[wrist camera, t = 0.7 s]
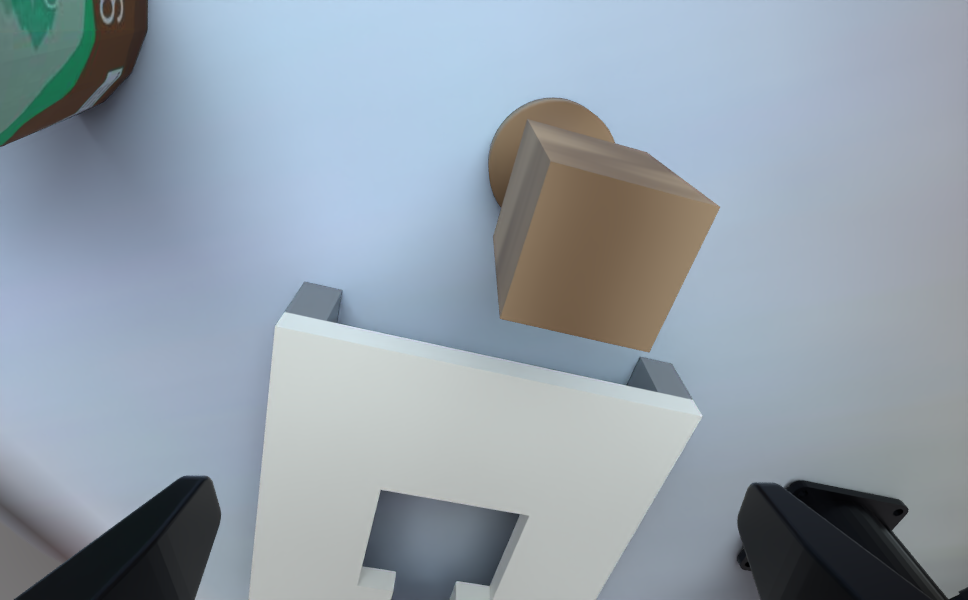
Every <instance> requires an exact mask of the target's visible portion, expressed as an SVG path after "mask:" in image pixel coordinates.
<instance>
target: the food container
mask: <svg viewBox="0 0 968 600" xmlns="http://www.w3.org/2000/svg"><path fill="white" fill-rule="evenodd" d="M147 30H148V0H0V147H1V146H4V145H6V144H8V143H11V142H13V141H16V140H18V139H20V138H23V137H25V136H27V135H30V134H32V133H34V132H37V131H39V130H42V129H44V128H46V127H49V126H51V125H53V124H56V123H58V122H61V121H63V120H65V119H68V118H70V117H72V116H75V115H77V114H79V113H81V112H83V111H85V110H88V109H90V108H92V107H94V106H96V105H98V104H100V103H102V102H104V101H105V100H106V99H107V98H108V97H109V96H110V95H111V94H112V93H113V92H114V91H115V90H116V89H117V87H118V86H119V85H120V84H121V83H122V82H123V81H124V80H125V79H126V78H127V77H128V76H129V75H130V73H131V72H132V71H133V68H134V65H135V63H136V60H137V57H138V54H139V52H140V49H141V46H142V43H143V41H144V38H145V35H146V32H147Z"/></svg>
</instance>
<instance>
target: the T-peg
mask: <svg viewBox="0 0 968 600" xmlns="http://www.w3.org/2000/svg"><path fill="white" fill-rule="evenodd" d="M488 167H489V179H490V184H491V188H492V191H493V194H494V197H495V199H496V201H497V202H498V204H499V205H500V207H501V211H500V214H499V218H498V221H497V225H496V228H495V231H494V235H493V242H494V254H495V266H496V278H497V290H498V302H499V314H500V319H503V320H508V321H512V322H517V323H521V324H526V325H530V326H534V327H539V328H543V329H548V330H552V331H557V332H561V333H565V334H570V335H574V336H579V337H583V338H588V339H592V340H596V341H601V342H605V343H610V344H614V345H619V346H623V347H627V348H632V349H636V350H641V351H645V352H650V350H651V348H652V346H653V344H654V342H655V340H656V337H657V335H658V333H659V331H660V329H661V327H662V325H663V323H664V321H665V319H666V317H667V315H668V313H669V311H670V309H671V307H672V305H673V303H674V301H675V299H676V297H677V294H678V292H679V290H680V288H681V286H682V284H683V282H684V280H685V278H686V276H687V274H688V272H689V270H690V268H691V266H692V264H693V262H694V260H695V258H696V256H697V254H698V251H699V249H700V247H701V245H702V243H703V241H704V239H705V237H706V235H707V233H708V231H709V229H710V227H711V225H712V223H713V221H714V219H715V217H716V215H717V213H718V211H719V208H720V207H719V206H718V205H717V204H715V203H714V202H713V201H711V200H710V199H709V198H707V197H706V196H705V195H703V194H702V193H701V192H699V191H698V190H697V189H695V188H694V187H693V186H691V185H690V184H688V183H687V182H686V181H684V180H683V179H682V178H680V177H679V176H678V175H676V174H675V173H674V172H672V171H671V170H670V169H668V168H667V167H666V166H664V165H663V164H662V163H660V162H659V161H658V160H656V159H655V158H654V157H652V156H651V155H650V154H648V153H647V152H644V151H640V150H637V149H633V148H629V147H626V146H622V145H619V144H615V142H614V139H613V137H612V135H611V133H610V131H609V129H608V128H607V127H606V125H605V124H604V123H603V122H602V121H601V120H600V119H599V118H598V117H597V116H596V115H595V114H593V113H592V112H591V111H589V110H588V109H587V108H585V107H584V106H582V105H580V104H578V103H576V102H574V101H571V100H567V99H563V98H543V99H538V100H535V101H532V102H529V103H527V104H525V105H523V106H521V107H519V108H518V109H516V110H515V111H514V112H512V113H511V114H510V115H509V116H508V117H507V118H506V119H505V120H504V121H503V123H502V124H501V125H500V127H499V128H498V130H497V132H496V134H495V136H494V138H493V140H492V143H491V146H490V151H489V159H488Z"/></svg>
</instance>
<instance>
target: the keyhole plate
mask: <svg viewBox="0 0 968 600" xmlns="http://www.w3.org/2000/svg"><path fill="white" fill-rule="evenodd" d="M341 294H342V290H339V289H335V288H330V287H326V286H321V285H317V284H312V283H308V282H304V283H303V285H302V286H301V288H300V289H299V291H298V292H297V294H296V295H295V297H294V298H293V300H292V301H291V303H290V304H289V306H288V307H287V309H286V310H285V312H284V313H283V315H282V316H281V318H280V319H279V321H278V322H277V324H276V325H275V332H274V342H273V352H272V363H271V373H270V383H269V394H268V404H267V414H266V425H265V435H264V445H263V456H262V466H261V476H260V486H259V497H258V507H257V517H256V528H255V538H254V548H253V559H252V569H251V579H250V590H249V600H391V598H392V594H393V591H394V584H395V577H396V571H389V570H383V569H376V568H370V567H364V566H362V564H363V560H364V556H365V552H366V548H367V544H368V540H369V536H370V531H371V527H372V523H373V519H374V515H375V511H376V507H377V503H378V499H379V495H380V490H385V491H391V492H397V493H402V494H408V495H414V496H419V497H425V498H431V499H436V500H442V501H448V502H454V503H459V504H465V505H471V506H476V507H482V508H488V509H493V510H499V511H505V512H510V513H516V514H520V516H519V518H518V520H517V523H516V525H515V528H514V530H513V532H512V535H511V537H510V539H509V542H508V544H507V546H506V549H505V551H504V553H503V556H502V558H501V560H500V563H499V565H498V567H497V570H496V572H495V575H494V577H493V579H492V582H491V584H490V586H486V585H479V584H473V583H467V582H460V581H456V583H455V586H454V588H453V591H452V594H451V596H450V599H449V600H596V598H597V597H598V595H599V593H600V592H601V590H602V588H603V586H604V585H605V583H606V581H607V580H608V578H609V576H610V574H611V573H612V571H613V569H614V568H615V566H616V564H617V562H618V561H619V559H620V557H621V556H622V554H623V552H624V550H625V549H626V547H627V545H628V544H629V542H630V540H631V538H632V537H633V535H634V533H635V531H636V530H637V528H638V526H639V525H640V523H641V521H642V519H643V518H644V516H645V514H646V513H647V511H648V509H649V507H650V506H651V504H652V502H653V501H654V499H655V497H656V495H657V494H658V492H659V490H660V489H661V487H662V485H663V483H664V482H665V480H666V478H667V477H668V475H669V473H670V471H671V470H672V468H673V466H674V465H675V463H676V461H677V459H678V458H679V456H680V454H681V453H682V451H683V449H684V447H685V446H686V444H687V442H688V440H689V439H690V437H691V435H692V434H693V432H694V430H695V428H696V427H697V425H698V423H699V422H700V420H701V418H702V415H701V413H700V411H699V410H698V408H697V406H696V404H695V403H694V401H693V399H692V398H691V396H690V394H689V392H688V391H687V389H686V387H685V385H684V384H683V382H682V380H681V379H680V377H679V375H678V373H677V372H676V370H675V368H674V367H673V365H672V364H670V363H665V362H661V361H656V360H652V359H647V358H643V357H640V359H639V361H638V363H637V365H636V367H635V369H634V371H633V374H632V376H631V378H630V380H629V382H628V384H627V386H626V385H621V384H617V383H612V382H607V381H603V380H598V379H593V378H589V377H584V376H580V375H575V374H570V373H566V372H561V371H556V370H552V369H547V368H542V367H538V366H533V365H528V364H524V363H519V362H515V361H510V360H505V359H501V358H496V357H491V356H487V355H482V354H477V353H473V352H468V351H463V350H459V349H454V348H449V347H445V346H440V345H436V344H431V343H426V342H422V341H417V340H412V339H408V338H403V337H398V336H394V335H389V334H384V333H380V332H375V331H371V330H366V329H361V328H357V327H352V326H347V325H343V324H338V323H337V319H338V313H339V307H340V300H341Z"/></svg>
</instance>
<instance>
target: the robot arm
mask: <svg viewBox="0 0 968 600" xmlns="http://www.w3.org/2000/svg"><path fill="white" fill-rule="evenodd" d="M907 513H908V508H907V507H906V505H905V504H904V503H903V502H902V501H901V500H898V499H893V498H888V497H883V496H878V495H873V494H868V493H863V492H858V491H853V490H848V489H843V488H838V487H833V486H828V485H823V484H818V483H813V482H808V481H796V482H794V483H792V484H791V485H790V486H789V488H788V489H787V490H786V489H784V488H783V487H782V486H780V485H778V484H776V483H752V484H751V485H750V486H749V487H748V489H747V492H746V494H745V497H744V500H743V503H742V506H741V508H740V511H739V514H738V520H737V522H738V530H739V533H740V536H741V540H742V543H743V546H744V549H743V550H742V551H741V553H740V554H739V555H738V557H737V561H738V563H739V565H740V567H741V568H742V569H744V570H749V571H752V574H753V577H754V580H755V583H756V587H757V590H758V593H759V596H760V599H761V600H948V598H947V597H946V596H945V595H944V593H943V592H942V591H941V590H940V589H939V587H938V586H937V585H936V584H935V583H934V581H933V580H932V579H931V578H930V576H929V575H928V574H927V573H926V572H925V570H924V569H923V568H922V567H921V566H920V564H919V563H918V562H917V561H916V559H915V558H914V557H913V556H912V555H911V553H910V552H909V551H908V550H907V549H906V547H905V546H904V545H903V544H902V542H901V541H900V540H899V539H898V538H897V536H896V535H895V534H894V533H893V532H892V530H893V529H894V527H895V526H896V525H897V524H898V523H899V522H900V521H901V520H902V519H903V518H904V516H905V515H906V514H907ZM220 520H221V510H220V506H219V503H218V499H217V496H216V492H215V489H214V485H213V482H212V480H211V479H210V478H209V477H208V476H183V477H181V478H179V479H178V480H176V481H175V482H173V483H172V484H171V485H169V486H168V487H167V488H165V489H164V490H162V491H161V492H160V493H158V494H157V495H156V496H154V497H153V498H152V499H150V500H149V501H147V502H146V503H145V504H143V505H142V506H141V507H139V508H138V509H137V510H135V511H134V512H132V513H131V514H130V515H128V516H127V517H126V518H124V519H123V520H122V521H120V522H119V523H117V524H116V525H115V526H113V527H112V528H111V529H109V530H108V531H107V532H105V533H104V534H102V535H101V536H100V537H98V538H97V539H96V540H94V541H93V542H92V543H90V544H89V545H87V546H86V547H85V548H83V549H82V550H81V551H79V552H78V553H77V554H75V555H74V556H72V557H71V558H70V559H68V560H67V561H66V562H64V563H63V564H62V565H60V566H59V567H57V568H56V569H55V570H53V571H52V572H51V573H49V574H48V575H47V576H45V577H44V578H43V579H41V580H40V581H38V582H37V583H36V584H34V585H33V586H32V587H30V588H29V589H28V590H26V591H25V592H23V593H22V594H21V595H19V596H18V597H17V598H15V599H14V600H195V597H196V594H197V591H198V588H199V585H200V582H201V579H202V576H203V573H204V570H205V567H206V564H207V561H208V558H209V555H210V552H211V549H212V546H213V543H214V540H215V537H216V534H217V531H218V528H219V525H220ZM959 593H960V594H959V595H957V596H955V597H953V598H951V599H949V600H968V587H967V588H965V589H963V590H961V591H959Z"/></svg>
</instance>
